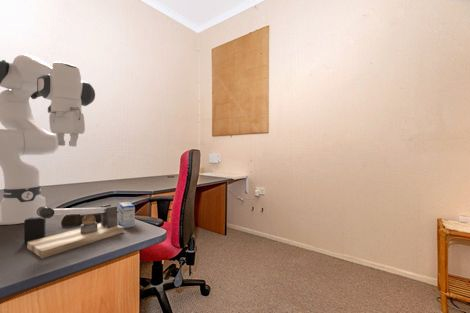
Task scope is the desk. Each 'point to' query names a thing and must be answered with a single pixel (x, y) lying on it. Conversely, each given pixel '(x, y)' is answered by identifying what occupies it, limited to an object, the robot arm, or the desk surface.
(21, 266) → the desk surface
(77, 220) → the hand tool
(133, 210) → the medicine box
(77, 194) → the desk surface
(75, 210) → the lever
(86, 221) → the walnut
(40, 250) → the cracker base
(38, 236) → the ink cartridge
